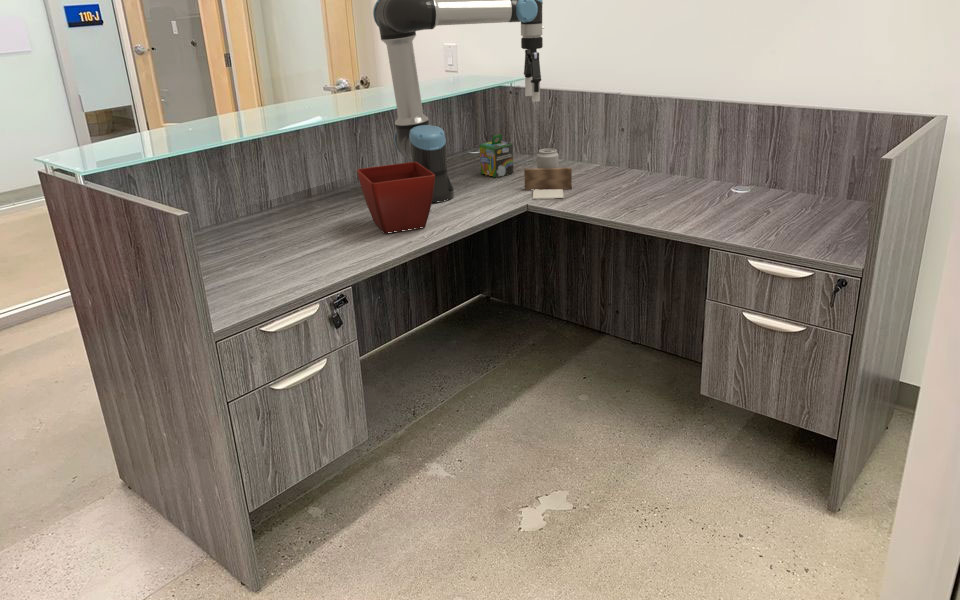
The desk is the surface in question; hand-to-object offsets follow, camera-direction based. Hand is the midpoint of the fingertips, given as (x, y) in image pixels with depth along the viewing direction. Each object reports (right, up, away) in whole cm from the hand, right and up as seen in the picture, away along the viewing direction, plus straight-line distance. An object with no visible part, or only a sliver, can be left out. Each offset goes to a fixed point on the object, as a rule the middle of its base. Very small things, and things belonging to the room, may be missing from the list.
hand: (532, 98), depth 275 cm
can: (+5, -32, -7) cm, 33 cm away
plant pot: (-43, -51, -44) cm, 80 cm away
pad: (+4, -38, -21) cm, 43 cm away
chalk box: (-13, -26, +9) cm, 30 cm away
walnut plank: (+4, -35, -13) cm, 37 cm away
